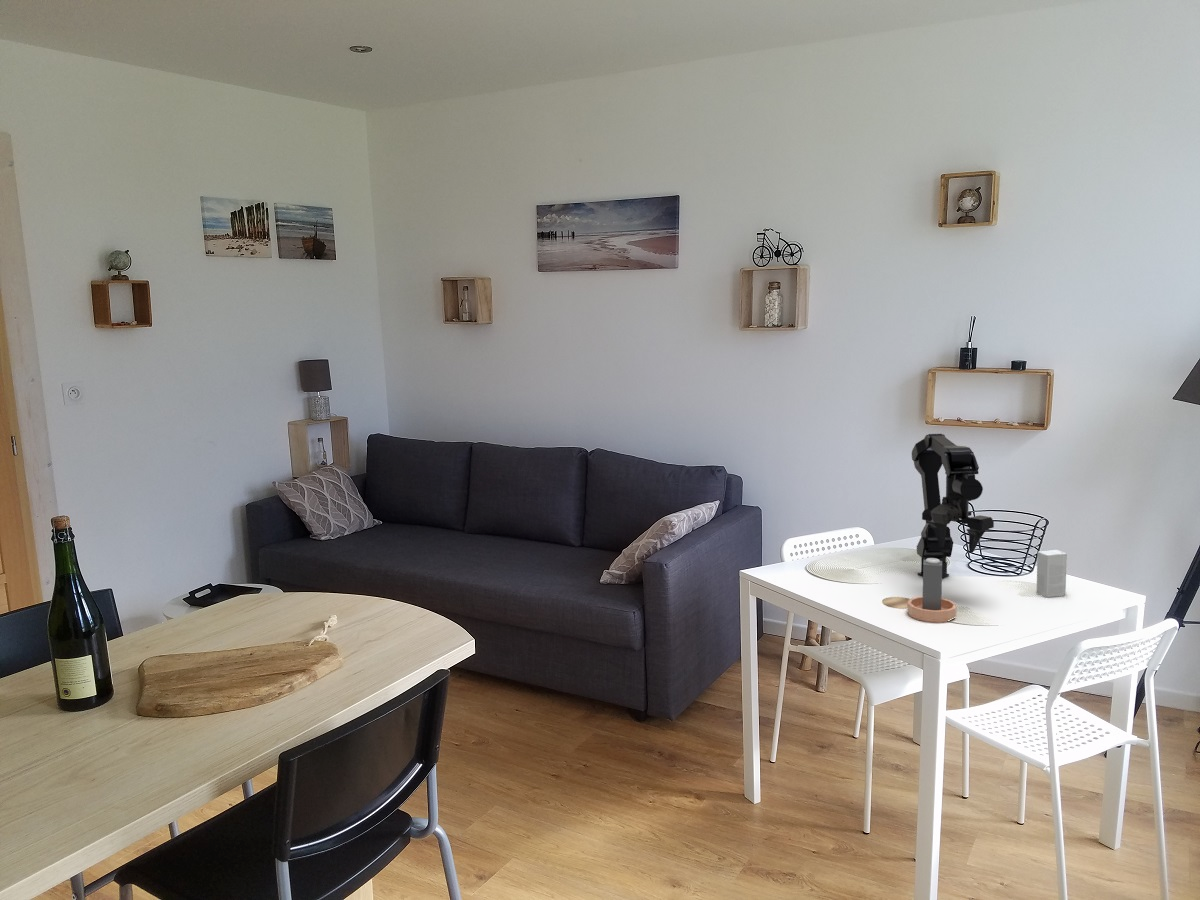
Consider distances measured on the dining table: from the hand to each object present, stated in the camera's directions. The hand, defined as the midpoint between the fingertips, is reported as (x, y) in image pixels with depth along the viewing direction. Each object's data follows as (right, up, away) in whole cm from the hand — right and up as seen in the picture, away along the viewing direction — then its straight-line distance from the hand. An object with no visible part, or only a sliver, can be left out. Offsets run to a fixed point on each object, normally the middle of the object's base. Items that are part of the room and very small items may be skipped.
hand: (956, 549), depth 234 cm
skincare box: (+26, -13, 0) cm, 29 cm away
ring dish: (-11, -16, -12) cm, 23 cm away
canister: (-11, -15, -12) cm, 22 cm away
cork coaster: (-16, -15, -2) cm, 22 cm away
